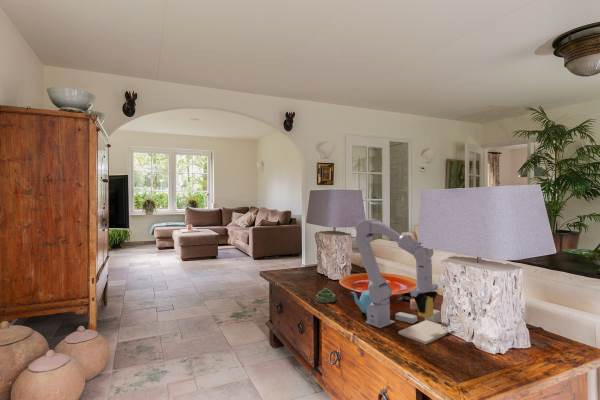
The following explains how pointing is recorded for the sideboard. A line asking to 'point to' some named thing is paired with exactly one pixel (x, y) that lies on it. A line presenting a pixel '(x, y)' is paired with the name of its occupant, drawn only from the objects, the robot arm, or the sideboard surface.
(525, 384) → the sideboard surface
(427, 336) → the cream board
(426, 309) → the mustard block
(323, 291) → the decorative artifact
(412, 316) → the blue-grey slab
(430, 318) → the grey cube
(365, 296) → the teapot
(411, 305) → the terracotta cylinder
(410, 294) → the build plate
